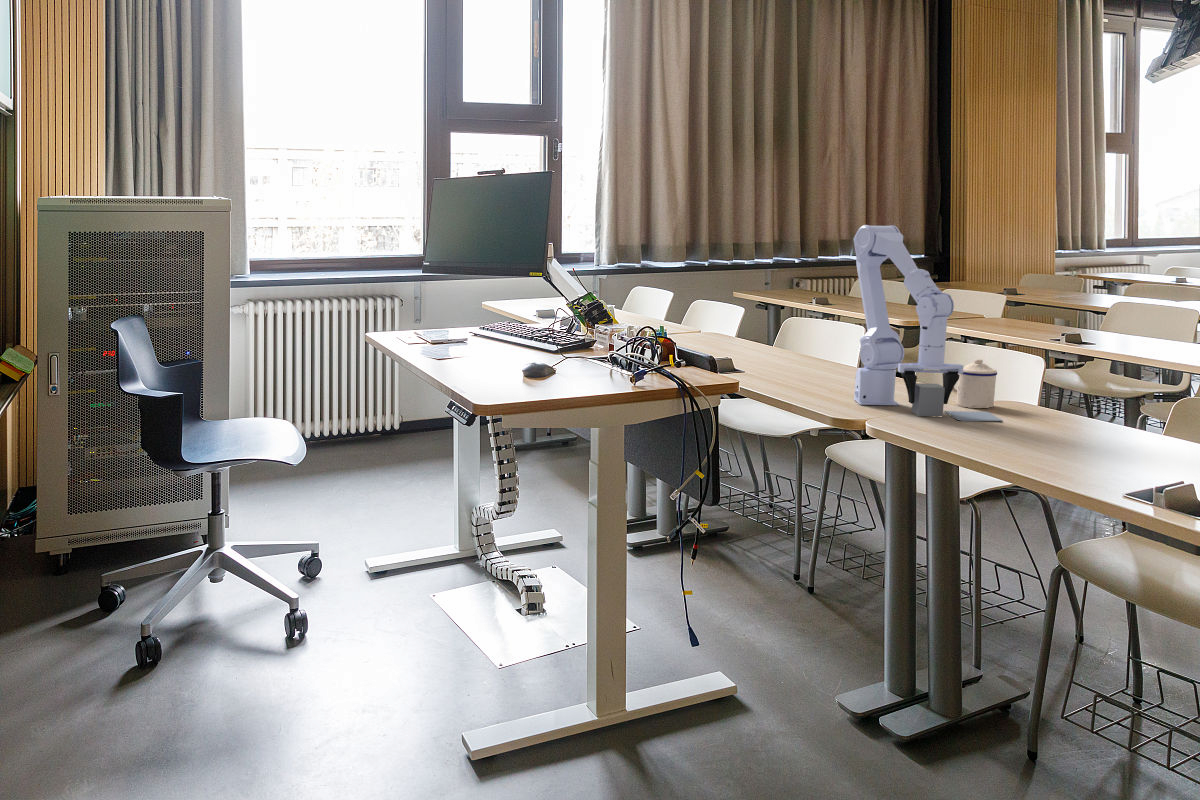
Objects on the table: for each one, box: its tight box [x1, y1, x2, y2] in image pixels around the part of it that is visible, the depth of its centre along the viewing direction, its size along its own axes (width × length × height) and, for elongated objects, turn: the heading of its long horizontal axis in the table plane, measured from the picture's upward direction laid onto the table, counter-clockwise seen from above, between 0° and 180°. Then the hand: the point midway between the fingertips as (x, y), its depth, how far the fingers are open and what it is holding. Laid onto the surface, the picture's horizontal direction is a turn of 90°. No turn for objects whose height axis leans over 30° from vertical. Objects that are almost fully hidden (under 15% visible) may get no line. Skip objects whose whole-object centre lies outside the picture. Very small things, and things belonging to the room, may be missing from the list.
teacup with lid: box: [951, 358, 998, 409], centre depth 234 cm, size 12×9×12 cm
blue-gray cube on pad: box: [911, 382, 945, 417], centre depth 221 cm, size 6×6×7 cm
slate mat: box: [944, 410, 1004, 423], centre depth 219 cm, size 10×10×1 cm
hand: (928, 403), depth 221 cm, fingers open, 7 cm apart
